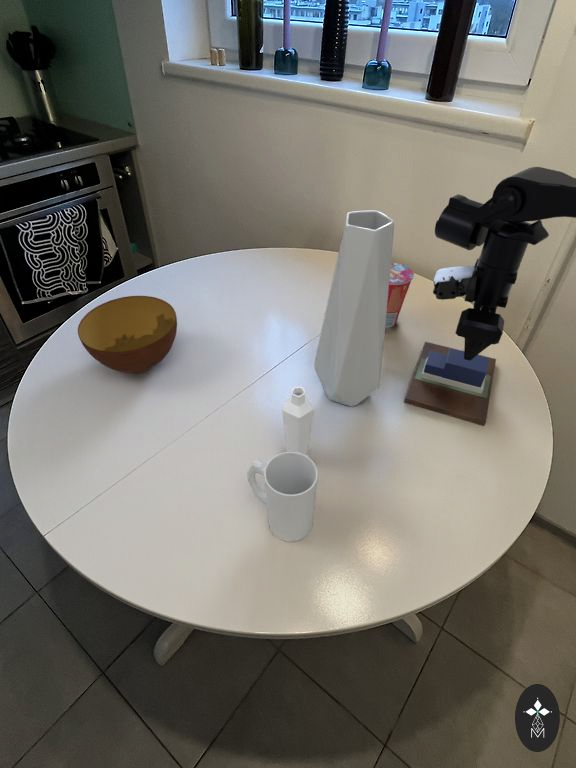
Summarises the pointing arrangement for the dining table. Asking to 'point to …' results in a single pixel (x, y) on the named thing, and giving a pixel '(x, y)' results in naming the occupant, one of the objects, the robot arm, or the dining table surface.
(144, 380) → the dining table surface
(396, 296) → the cup
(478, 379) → the blue stepped block
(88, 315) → the bowl
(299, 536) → the mug
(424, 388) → the brown flat slab
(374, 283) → the vase
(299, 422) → the perfume bottle
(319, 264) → the dining table surface
